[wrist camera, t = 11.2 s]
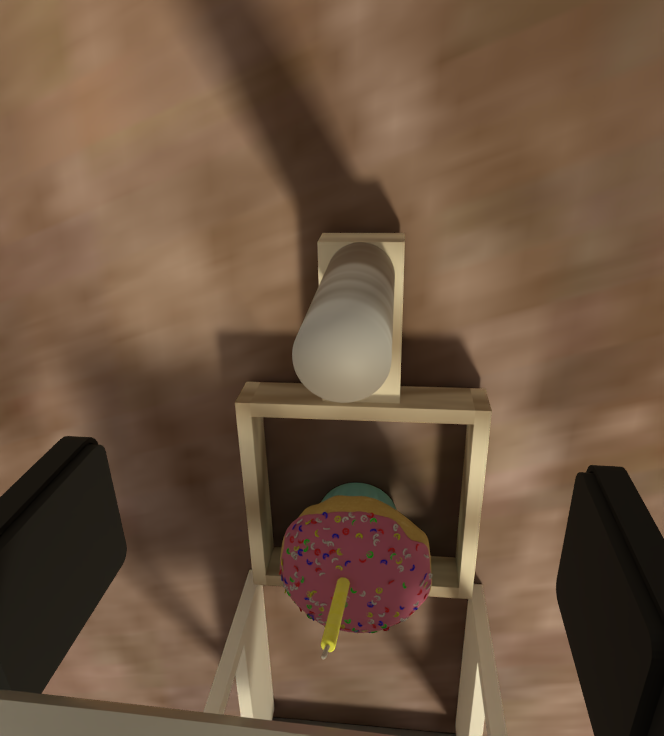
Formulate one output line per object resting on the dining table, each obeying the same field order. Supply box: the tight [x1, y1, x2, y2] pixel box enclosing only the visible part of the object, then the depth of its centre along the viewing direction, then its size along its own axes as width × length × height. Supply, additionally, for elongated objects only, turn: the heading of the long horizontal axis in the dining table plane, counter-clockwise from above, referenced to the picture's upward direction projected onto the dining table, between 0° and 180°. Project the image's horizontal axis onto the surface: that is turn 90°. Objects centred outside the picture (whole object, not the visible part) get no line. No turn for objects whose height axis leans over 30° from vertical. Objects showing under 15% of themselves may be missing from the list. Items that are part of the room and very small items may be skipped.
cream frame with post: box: [235, 233, 492, 599], centre depth 28 cm, size 21×13×12 cm, turn 1°
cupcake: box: [279, 483, 433, 659], centre depth 31 cm, size 9×8×12 cm
